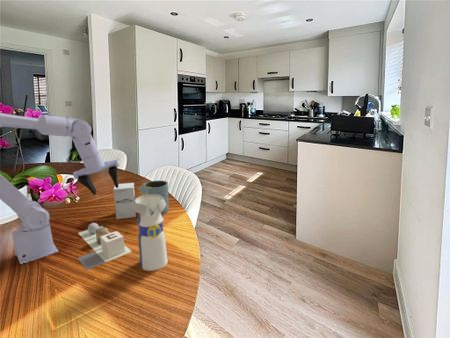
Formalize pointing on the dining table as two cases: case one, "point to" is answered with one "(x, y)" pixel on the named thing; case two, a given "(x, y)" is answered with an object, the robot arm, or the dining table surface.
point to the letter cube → (112, 244)
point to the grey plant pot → (159, 191)
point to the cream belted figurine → (151, 230)
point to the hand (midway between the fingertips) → (106, 189)
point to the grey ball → (93, 227)
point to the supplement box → (124, 200)
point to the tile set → (99, 245)
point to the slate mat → (91, 260)
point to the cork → (100, 234)
